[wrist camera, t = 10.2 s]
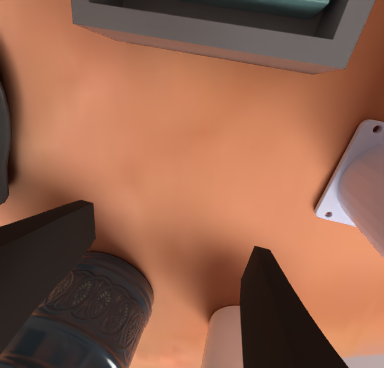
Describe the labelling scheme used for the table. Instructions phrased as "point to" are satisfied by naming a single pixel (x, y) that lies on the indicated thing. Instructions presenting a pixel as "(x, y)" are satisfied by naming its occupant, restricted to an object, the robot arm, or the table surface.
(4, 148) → the casserole
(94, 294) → the canister
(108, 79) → the table surface
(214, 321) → the candle holder
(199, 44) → the tray
